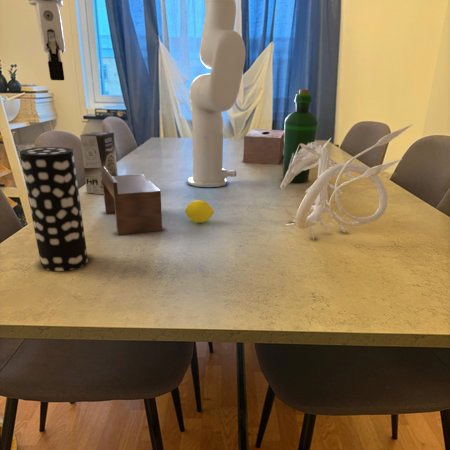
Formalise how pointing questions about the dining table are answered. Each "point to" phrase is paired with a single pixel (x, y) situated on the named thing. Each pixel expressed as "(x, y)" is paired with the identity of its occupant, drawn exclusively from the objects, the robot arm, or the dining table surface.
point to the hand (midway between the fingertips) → (57, 79)
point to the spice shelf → (132, 202)
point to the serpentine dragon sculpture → (320, 186)
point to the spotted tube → (55, 207)
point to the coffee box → (98, 158)
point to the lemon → (199, 211)
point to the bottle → (299, 132)
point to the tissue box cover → (263, 146)
